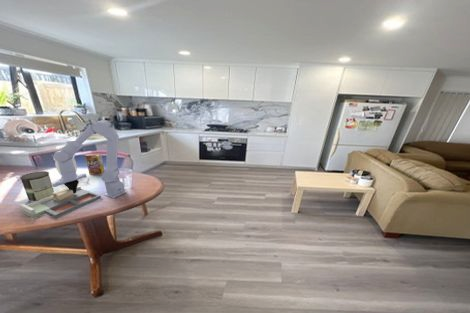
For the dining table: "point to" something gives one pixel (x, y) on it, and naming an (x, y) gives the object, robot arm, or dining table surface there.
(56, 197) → the maple block
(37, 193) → the coffee can
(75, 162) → the jar
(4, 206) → the dining table surface
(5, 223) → the dining table surface
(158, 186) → the dining table surface
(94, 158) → the candy box
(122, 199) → the dining table surface
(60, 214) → the board
